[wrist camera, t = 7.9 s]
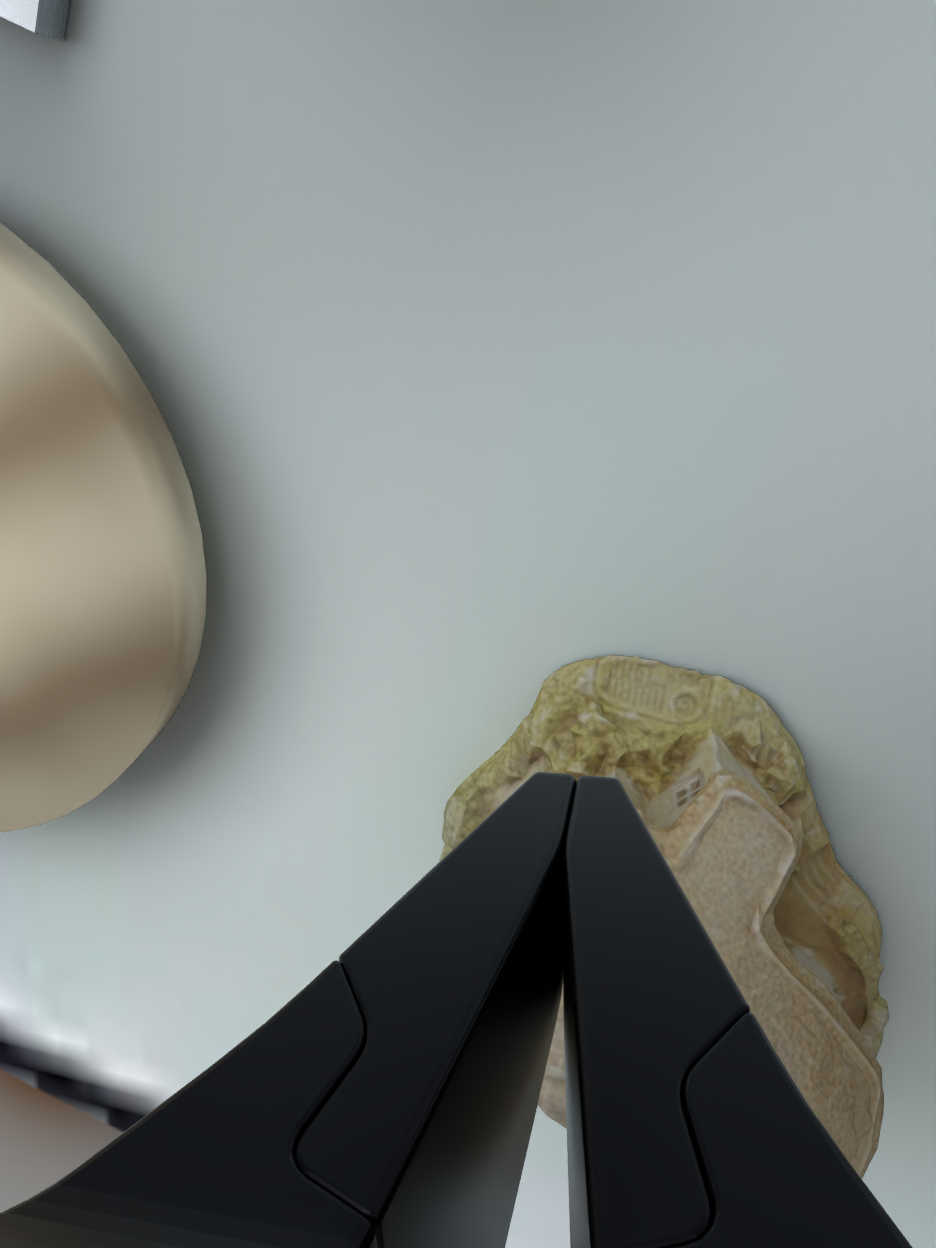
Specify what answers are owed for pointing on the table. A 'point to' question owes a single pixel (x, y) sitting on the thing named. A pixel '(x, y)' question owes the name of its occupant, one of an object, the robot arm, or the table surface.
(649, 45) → the table surface
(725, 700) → the ceramic model
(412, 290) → the table surface
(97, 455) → the disc
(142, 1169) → the robot arm
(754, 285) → the table surface
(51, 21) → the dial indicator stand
